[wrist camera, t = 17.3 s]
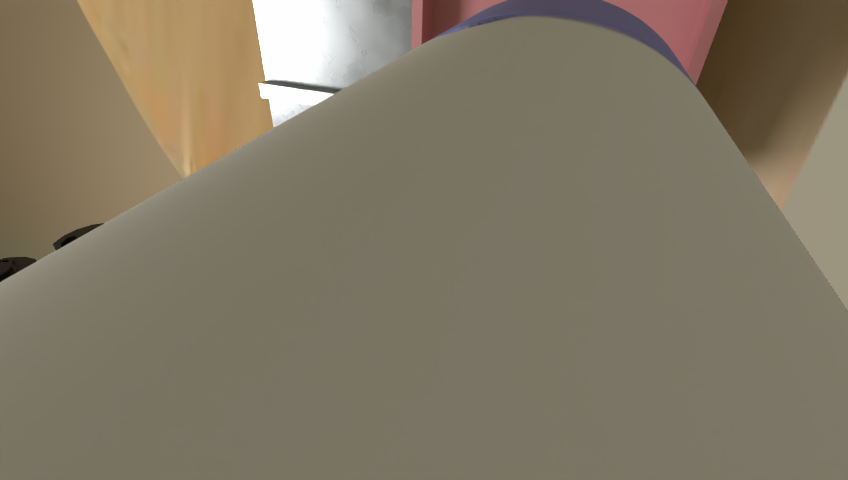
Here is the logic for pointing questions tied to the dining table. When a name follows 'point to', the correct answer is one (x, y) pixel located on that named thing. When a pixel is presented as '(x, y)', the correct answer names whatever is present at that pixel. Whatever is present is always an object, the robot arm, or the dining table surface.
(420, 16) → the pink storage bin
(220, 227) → the container
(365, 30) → the track
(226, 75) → the dining table surface
